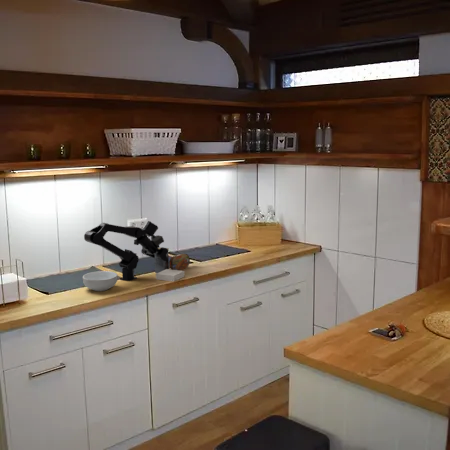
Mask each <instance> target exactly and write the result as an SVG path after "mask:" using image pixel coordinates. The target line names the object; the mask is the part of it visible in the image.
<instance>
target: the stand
mask: <svg viewBox="0 0 450 450" xmlns="http://www.w3.org/2000/svg"><path fill="white" fill-rule="evenodd" d="M184 277H185V271H184V270H171V269H170V268H169V269H166V270H163V271H161V272H159V273H155V280H161V281H165V282H166V281H168V282H176V281H179V280H180V279H182V278H184Z"/></svg>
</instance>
